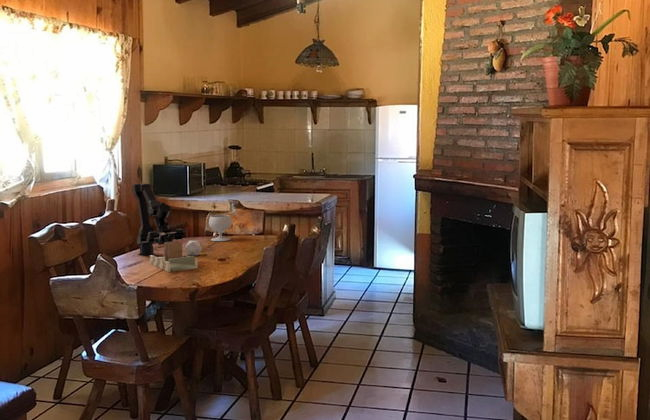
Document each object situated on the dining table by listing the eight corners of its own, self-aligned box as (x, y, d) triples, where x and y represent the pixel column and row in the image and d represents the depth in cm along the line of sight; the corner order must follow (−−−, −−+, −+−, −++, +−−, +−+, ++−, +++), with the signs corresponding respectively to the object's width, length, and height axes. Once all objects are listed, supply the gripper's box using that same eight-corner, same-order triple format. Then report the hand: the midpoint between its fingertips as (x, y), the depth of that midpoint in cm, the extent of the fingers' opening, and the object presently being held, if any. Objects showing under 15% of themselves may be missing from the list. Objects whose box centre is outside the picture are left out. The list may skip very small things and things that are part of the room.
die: (193, 258, 359) (203, 243, 361) (180, 250, 360) (190, 235, 362) (196, 260, 367) (206, 246, 369) (183, 252, 367) (193, 238, 369)
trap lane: (150, 264, 341) (149, 252, 340) (178, 260, 350) (178, 249, 349) (167, 272, 322) (167, 259, 321) (197, 268, 331) (197, 256, 330)
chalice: (221, 242, 402) (221, 218, 400) (204, 240, 410) (203, 216, 408) (236, 239, 414) (236, 215, 412) (219, 237, 421) (219, 213, 420)
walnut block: (164, 260, 335) (164, 242, 334) (177, 258, 339) (177, 241, 338) (169, 262, 330) (168, 244, 329) (182, 260, 334) (182, 242, 333)
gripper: (175, 232, 355) (184, 256, 347) (140, 236, 345) (149, 260, 337) (180, 219, 348) (189, 243, 340) (145, 222, 337) (154, 247, 330)
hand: (170, 248), depth 337 cm, fingers closed
